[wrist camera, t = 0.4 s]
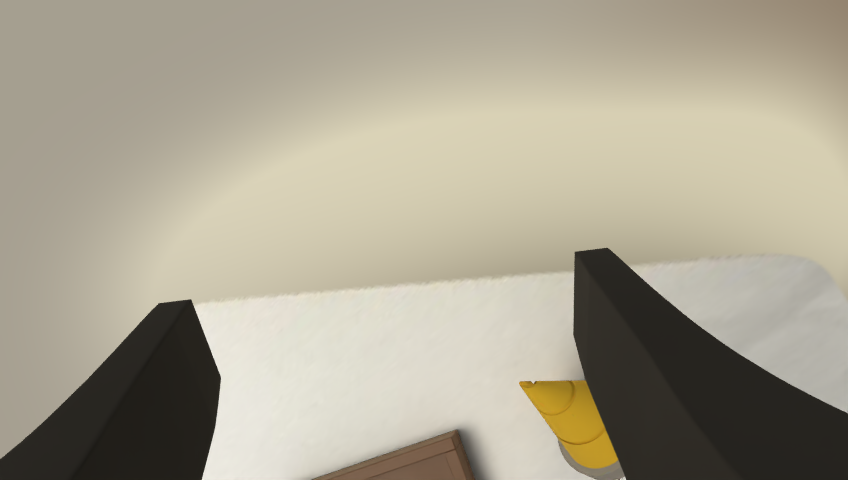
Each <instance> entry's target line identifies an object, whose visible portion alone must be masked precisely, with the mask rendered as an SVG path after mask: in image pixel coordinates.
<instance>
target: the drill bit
mask: <svg viewBox="0 0 848 480" xmlns="http://www.w3.org/2000/svg"><path fill="white" fill-rule="evenodd" d="M519 384H520V386H521V387H522V389H523V390H524V392H525V393H526V394H527V396H528V397H529V399H530V400H531V401H532V403H533V404H534V406H535V407H536V408H537V410H538V411H539V413H540V414H541V415H542V417H543V418H544V419H545V421H546V422H547V424H548V425H549V426H550V428H551V429H552V431H553V432H554V433H555V435H556V436H557V438H558V443H559V446H560V450H561V452H562V454H563V456H564V458H565V460H566V461H567V462H568V463H569V465H570V466H571V467H573V468H574V469H575V470H576V471H578V472H580V473H583V474H585V475H587V476H589V477H592V478H594V479H597V480H616V479H618V480H620V478H623V477H624V476H625V475H624V473H623V470H622V468H621V465H620V463H619V460H618V458H617V456H616V453H615V451H614V448H613V446H612V444H611V441H610V439H609V436H608V434H607V432H606V429H605V427H604V424H603V422H602V419H601V417H600V415H599V412H598V410H597V407H596V405H595V402H594V400H593V397H592V395H591V393H590V390H589V387H588V385H587V382H586V380H581V381H536V382H535V383H534V384H533V383H532V382H531V381H521V382H519Z"/></svg>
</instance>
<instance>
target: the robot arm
mask: <svg viewBox="0 0 848 480" xmlns="http://www.w3.org/2000/svg"><path fill="white" fill-rule="evenodd" d="M573 335H574V339H575V342H576V346H577V350H578V354H579V358H580V361H581V365H582V369H583V372H584V376H585V379H586V382H587V385H588V387H589V390H590V393H591V395H592V397H593V400H594V402H595V405H596V407H597V410H598V412H599V415H600V417H601V419H602V422H603V424H604V427H605V429H606V432H607V434H608V436H609V439H610V441H611V444H612V446H613V448H614V451H615V453H616V456H617V458H618V460H619V463H620V465H621V468H622V470H623V473H624V475H625V477H626V480H848V413H846V412H844V411H842V410H839V409H837V408H835V407H833V406H831V405H829V404H827V403H825V402H823V401H821V400H819V399H817V398H815V397H813V396H811V395H809V394H807V393H805V392H804V391H802V390H800V389H798V388H796V387H794V386H792V385H790V384H788V383H787V382H785V381H783V380H781V379H779V378H778V377H776V376H774V375H772V374H771V373H769V372H767V371H766V370H764V369H762V368H761V367H759V366H758V365H756V364H754V363H753V362H751V361H749V360H748V359H746V358H745V357H743V356H741V355H740V354H738V353H737V352H735V351H734V350H732V349H731V348H729V347H728V346H726V345H725V344H723V343H722V342H720V341H719V340H718V339H716V338H715V337H713V336H712V335H711V334H709V333H708V332H706V331H705V330H704V329H702V328H701V327H700V326H698V325H697V324H696V323H694V322H693V321H692V320H691V319H689V318H688V317H687V316H686V315H684V314H683V313H682V312H681V311H679V310H678V309H677V308H676V307H675V306H673V305H672V304H671V303H670V302H668V301H667V300H666V299H665V298H664V297H662V296H661V295H660V294H659V293H658V292H657V291H655V290H654V289H653V288H652V287H651V286H650V285H649V284H647V283H646V282H645V281H644V280H643V279H642V278H641V277H640V276H638V275H637V274H636V273H635V272H634V271H633V270H632V269H631V268H630V267H629V266H627V265H626V264H625V263H624V262H623V261H622V260H621V259H620V258H619V257H618V256H616V255H615V254H614V253H613V252H612V251H611V250H610V249H608V248H602V249H595V250H586V251H579V252H575V269H574V332H573ZM220 382H221V377H220V374H219V371H218V369H217V366H216V363H215V361H214V358H213V356H212V353H211V350H210V348H209V345H208V342H207V340H206V337H205V335H204V332H203V329H202V327H201V324H200V321H199V319H198V316H197V314H196V311H195V308H194V306H193V303H192V300H183V301H175V302H167V303H159V304H158V305H157V306H156V307H155V308H154V309H153V310H152V311H151V312H150V313H149V314H148V315H147V316H146V317H145V318H144V319H143V320H142V321H141V322H140V323H139V325H138V326H137V327H136V328H135V329H134V330H133V331H132V332H131V333H130V334H129V335H128V337H127V338H126V339H125V340H124V341H123V342H122V343H121V344H120V345H119V346H118V347H117V349H116V350H115V351H114V352H113V353H112V354H111V355H110V356H109V357H108V358H107V359H106V360H105V361H104V362H103V363H102V365H101V366H100V367H99V368H98V369H97V370H96V371H95V372H94V373H93V374H92V375H91V376H90V377H89V378H88V379H87V380H86V381H85V382H84V383H83V384H82V385H81V386H80V387H79V388H78V389H77V390H76V391H75V392H74V393H73V394H72V395H71V396H70V397H69V398H68V399H67V400H66V401H65V402H64V403H63V404H62V405H61V406H60V407H59V408H58V409H57V410H56V411H54V413H52V414H51V415H50V417H48V418H47V419H46V420H45V421H44V422H43V423H42V424H41V425H40V426H39V427H38V428H37V429H35V430H34V431H33V432H32V433H31V434H30V435H29V436H27V437H26V438H25V439H24V440H23V441H22V442H21V443H19V444H18V445H17V446H16V447H15V448H13V449H12V450H11V451H10V452H9V453H7V454H6V455H5V456H4V457H2V458H1V459H0V480H202V476H203V472H204V469H205V465H206V461H207V457H208V453H209V449H210V446H211V442H212V438H213V434H214V429H215V424H216V417H217V409H218V401H219V392H220Z"/></svg>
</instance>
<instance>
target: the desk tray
mask: <svg viewBox="0 0 848 480" xmlns="http://www.w3.org/2000/svg"><path fill="white" fill-rule="evenodd" d="M312 480H475V478H474V475H473V472H472V470H471V467H470V464H469V461H468V459H467V456H466V453H465V450H464V448H463V445H462V442H461V440H460V437H459V434H458V431H457V430H454V431H451V432H448V433H445V434H442V435H439V436H436V437H434V438H431V439H428V440H425V441H422V442H419V443H416V444H413V445H410V446H408V447H405V448H402V449H399V450H396V451H393V452H390V453H387V454H384V455H381V456H379V457H376V458H373V459H370V460H367V461H364V462H361V463H358V464H355V465H353V466H350V467H347V468H344V469H341V470H338V471H335V472H332V473H329V474H327V475H324V476H321V477H318V478H315V479H312Z"/></svg>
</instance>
